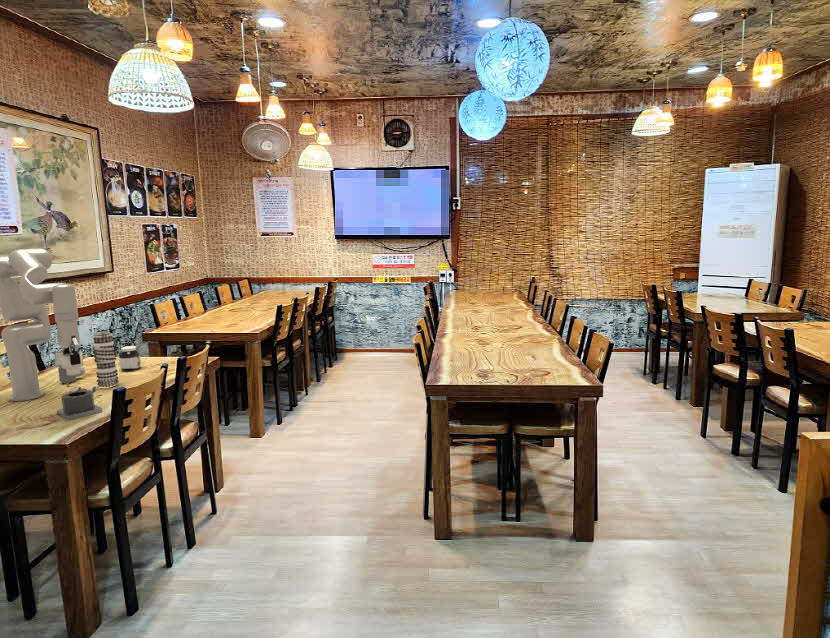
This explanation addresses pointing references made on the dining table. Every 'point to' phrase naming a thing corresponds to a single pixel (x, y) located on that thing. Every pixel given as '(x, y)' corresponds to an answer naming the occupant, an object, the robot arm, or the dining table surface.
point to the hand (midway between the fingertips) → (72, 362)
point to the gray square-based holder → (78, 404)
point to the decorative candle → (105, 359)
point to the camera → (62, 372)
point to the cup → (67, 364)
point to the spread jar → (129, 359)
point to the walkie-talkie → (81, 389)
